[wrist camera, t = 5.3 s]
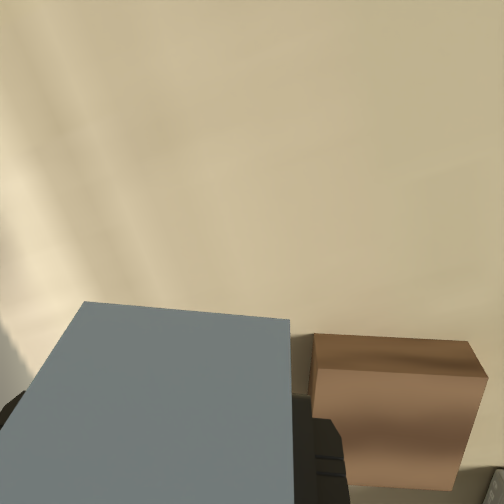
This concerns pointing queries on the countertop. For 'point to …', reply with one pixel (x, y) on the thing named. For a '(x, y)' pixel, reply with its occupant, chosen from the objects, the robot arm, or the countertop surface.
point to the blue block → (155, 412)
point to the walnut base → (397, 406)
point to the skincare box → (496, 489)
